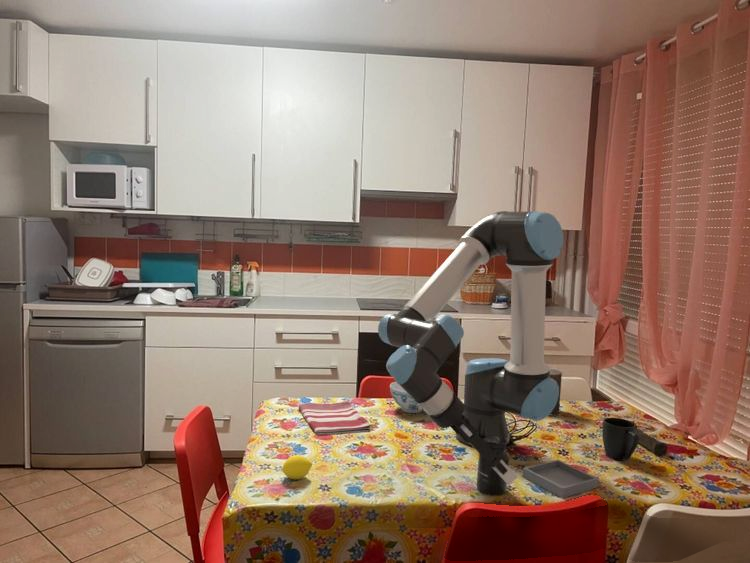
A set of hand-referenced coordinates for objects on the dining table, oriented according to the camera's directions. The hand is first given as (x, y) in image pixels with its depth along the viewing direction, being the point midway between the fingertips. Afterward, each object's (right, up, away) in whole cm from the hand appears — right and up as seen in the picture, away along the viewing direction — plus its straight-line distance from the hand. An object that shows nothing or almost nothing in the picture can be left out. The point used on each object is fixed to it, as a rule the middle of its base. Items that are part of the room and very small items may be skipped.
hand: (500, 467), depth 131 cm
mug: (+37, -5, +22) cm, 44 cm away
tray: (+16, -5, +6) cm, 17 cm away
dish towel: (-41, 0, +43) cm, 60 cm away
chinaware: (-17, 0, +56) cm, 59 cm away
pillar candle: (+28, -1, +62) cm, 69 cm away
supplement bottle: (-2, -5, 0) cm, 6 cm away
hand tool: (+48, -5, +35) cm, 60 cm away
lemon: (-47, -3, +1) cm, 47 cm away
